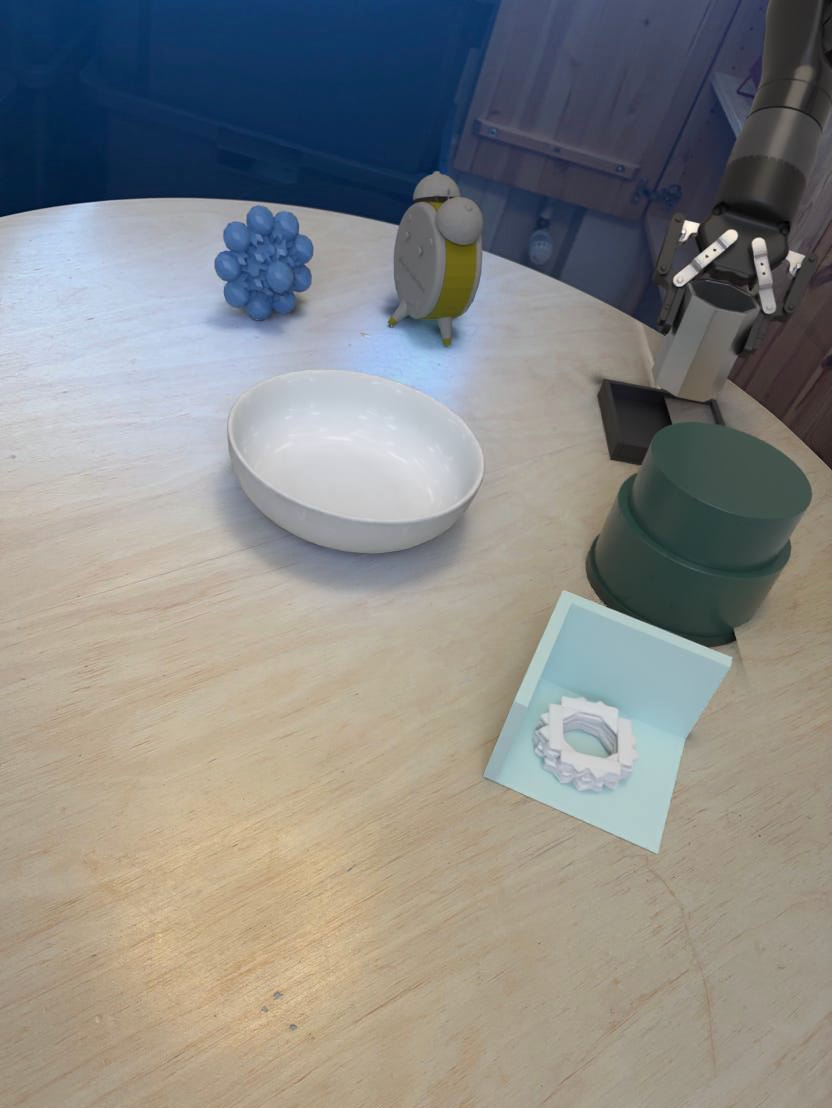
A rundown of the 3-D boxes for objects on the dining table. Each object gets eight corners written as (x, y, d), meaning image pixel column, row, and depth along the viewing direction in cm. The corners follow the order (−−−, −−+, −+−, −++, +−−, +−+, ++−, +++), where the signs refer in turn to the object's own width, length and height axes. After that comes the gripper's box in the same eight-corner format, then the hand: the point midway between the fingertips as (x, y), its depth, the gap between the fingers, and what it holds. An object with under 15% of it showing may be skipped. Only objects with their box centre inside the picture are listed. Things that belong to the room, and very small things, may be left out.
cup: (710, 372, 98) (750, 287, 92) (722, 406, 94) (765, 318, 87) (648, 360, 98) (684, 273, 92) (657, 393, 93) (696, 304, 87)
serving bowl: (278, 610, 73) (289, 538, 68) (187, 449, 85) (191, 379, 80) (511, 564, 81) (535, 497, 76) (397, 424, 94) (412, 358, 89)
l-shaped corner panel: (482, 776, 65) (513, 700, 59) (531, 664, 73) (563, 589, 68) (657, 854, 62) (706, 783, 57) (687, 729, 71) (732, 657, 66)
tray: (708, 415, 105) (715, 399, 103) (731, 481, 96) (740, 464, 95) (597, 394, 104) (603, 378, 103) (610, 459, 95) (617, 442, 94)
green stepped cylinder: (735, 546, 88) (799, 432, 80) (773, 660, 78) (851, 544, 69) (578, 517, 87) (625, 400, 79) (595, 629, 77) (651, 508, 69)
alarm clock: (463, 352, 106) (500, 212, 96) (406, 353, 104) (437, 210, 93) (423, 300, 113) (454, 165, 103) (369, 300, 111) (394, 162, 101)
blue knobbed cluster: (231, 347, 99) (241, 229, 90) (199, 316, 102) (206, 199, 94) (327, 330, 104) (345, 217, 96) (294, 301, 108) (308, 189, 100)
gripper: (699, 132, 89) (636, 304, 88) (858, 177, 87) (794, 353, 87) (681, 175, 96) (623, 334, 96) (827, 218, 94) (768, 379, 94)
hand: (704, 342), depth 91 cm, fingers closed on cup, 7 cm apart
